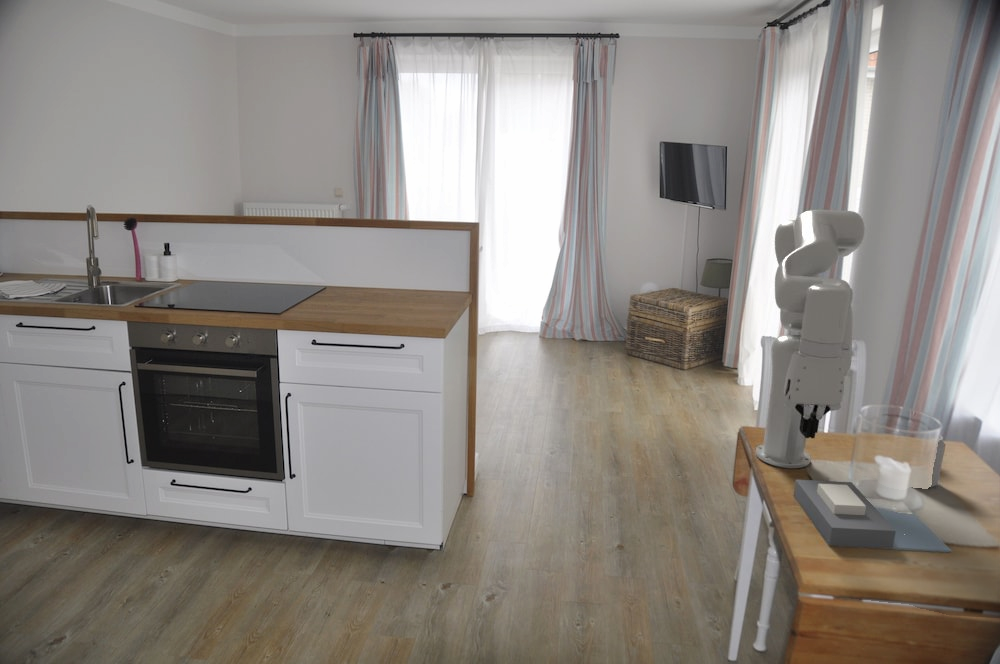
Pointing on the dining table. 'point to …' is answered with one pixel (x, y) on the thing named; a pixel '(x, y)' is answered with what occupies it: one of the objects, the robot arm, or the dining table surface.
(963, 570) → the dining table surface
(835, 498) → the tile
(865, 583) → the dining table surface
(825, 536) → the panel
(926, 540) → the mat
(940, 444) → the can
